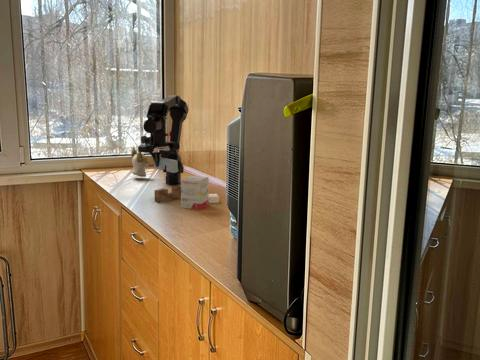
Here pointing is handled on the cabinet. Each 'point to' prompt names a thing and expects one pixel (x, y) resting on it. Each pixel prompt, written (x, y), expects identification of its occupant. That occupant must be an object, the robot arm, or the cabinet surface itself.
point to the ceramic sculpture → (139, 163)
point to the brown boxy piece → (167, 194)
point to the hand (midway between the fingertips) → (159, 166)
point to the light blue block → (167, 165)
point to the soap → (213, 198)
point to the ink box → (195, 192)
